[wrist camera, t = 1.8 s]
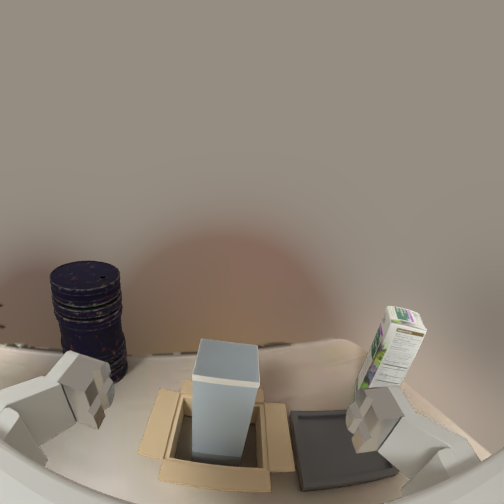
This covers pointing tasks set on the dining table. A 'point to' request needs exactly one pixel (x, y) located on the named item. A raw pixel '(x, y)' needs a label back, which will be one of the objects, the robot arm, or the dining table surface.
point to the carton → (208, 475)
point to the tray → (332, 452)
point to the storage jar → (91, 312)
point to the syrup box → (392, 349)
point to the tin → (223, 400)
